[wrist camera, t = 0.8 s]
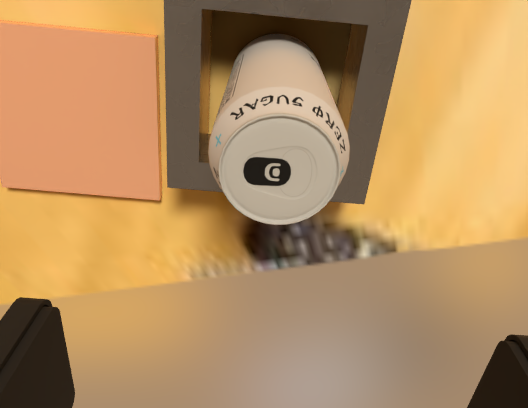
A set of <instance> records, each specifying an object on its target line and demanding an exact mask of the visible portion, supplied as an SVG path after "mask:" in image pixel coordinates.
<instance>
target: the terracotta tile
mask: <svg viewBox="0 0 528 408" xmlns="http://www.w3.org/2000/svg"><path fill="white" fill-rule="evenodd" d="M0 179H1V184H2V187H8V188H20V189H32V190H43V191H55V192H67V193H78V194H90V195H102V196H114V197H125V198H137V199H149V200H160V199H161V197H162V177H161V139H160V100H159V62H158V36H157V35H146V34H136V33H126V32H115V31H105V30H95V29H85V28H74V27H64V26H54V25H43V24H33V23H23V22H12V21H2V20H0Z"/></svg>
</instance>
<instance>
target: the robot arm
mask: <svg viewBox="0 0 528 408" xmlns="http://www.w3.org/2000/svg"><path fill="white" fill-rule="evenodd" d="M74 397H75V390H74V384H73V379H72V374H71V368H70V363H69V358H68V353H67V347H66V342H65V337H64V332H63V326H62V321H61V316H60V311H59V309H58V308H57V307H52V304H51V302H50V301H49V300H47V299H35V298H21V297H20V298H18V299H16V300H15V302H14V303H13V304H12V305H11V307H10V308H9V309H8V311H7V312H6V314H5V315H4V316H3V318H2V319H1V320H0V408H72V406H73V403H74ZM467 408H528V336H524V335H509V336H507V337H506V339H505V340H504V341H500V342H499V343H498V345H497V347H496V349H495V351H494V353H493V355H492V357H491V359H490V361H489V363H488V365H487V367H486V369H485V372H484V374H483V376H482V378H481V380H480V382H479V384H478V386H477V388H476V390H475V392H474V395H473V396H472V399H471V401H470V403H469V405H468V407H467Z"/></svg>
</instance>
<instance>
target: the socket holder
mask: <svg viewBox="0 0 528 408" xmlns="http://www.w3.org/2000/svg"><path fill="white" fill-rule="evenodd" d="M410 5H411V0H164V27H165V80H166V133H167V185H168V187H169V188H181V189H193V190H204V191H216V192H223V190H222V189H221V188H220V187H219V185H218V183H217V182H216V180H215V178H214V176H213V173H212V170H211V167H210V164H209V155H208V149H209V139H210V136H211V134H208V129H209V96H210V63H211V29H212V10H220V11H230V12H240V13H250V14H260V15H270V16H281V17H291V18H301V19H311V20H321V21H331V22H341V23H351V24H352V26H351V31H350V37H349V43H348V48H347V54H346V60H345V65H344V71H343V77H342V82H341V88H340V94H339V100H338V105H337V109H338V111H339V114H340V116H341V119H342V121H343V124H344V126H345V129H346V131H347V134H348V139H349V145H350V152H349V162H348V166H347V169H346V173H345V175H344V177H343V179H342V181H341V183H340V184H339V186H338V187H337V189H336V191H335V193H334V195H333V197H332V198H331V200H330V201H332V202H343V203H355V204H364V203H365V198H366V194H367V190H368V185H369V181H370V177H371V173H372V168H373V164H374V160H375V155H376V151H377V147H378V142H379V138H380V134H381V129H382V125H383V121H384V117H385V112H386V108H387V104H388V99H389V95H390V91H391V86H392V82H393V78H394V73H395V69H396V65H397V61H398V56H399V52H400V48H401V43H402V39H403V35H404V30H405V26H406V22H407V17H408V13H409V9H410Z"/></svg>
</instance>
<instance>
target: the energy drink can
mask: <svg viewBox="0 0 528 408" xmlns="http://www.w3.org/2000/svg"><path fill="white" fill-rule="evenodd" d="M349 152H350V145H349V139H348V134H347V131H346V129H345V126H344V124H343V121H342V119H341V116H340V114H339V111H338V109H337V106H336V104H335V102H334V99H333V97H332V94H331V92H330V89H329V87H328V84H327V82H326V80H325V77H324V75H323V72H322V70H321V67H320V65H319V63H318V60H317V58H316V56H315V55H314V53H313V52H312V50H311V49H310V48H309V47H308V46H307V45H306V44H305V43H303V42H302V41H300V40H299V39H297V38H295V37H292V36H290V35H285V34H268V35H264V36H261V37H259V38H257V39H254V40H252V41H251V42H250V43H249V44H247V45H246V46H245V47H244V48H243V49H242V50H241V52H240V53H239V54H238V56H237V58H236V60H235V62H234V65H233V68H232V71H231V74H230V77H229V80H228V83H227V86H226V90H225V93H224V96H223V99H222V102H221V105H220V108H219V111H218V114H217V117H216V120H215V123H214V127H213V130H212V133H211V136H210V139H209V149H208V155H209V164H210V167H211V170H212V173H213V176H214V178H215V180H216V182H217V183H218V185H219V187H220V188H221V189H222V190H223V192H224V194H225V196H226V197H227V199H228V201H229V202H230V203H231V204H232V205H233V206H234V207H235V208H236V209H237V210H238V211H239V212H241V213H242V214H243V215H245V216H247V217H249V218H251V219H253V220H255V221H258V222H262V223H265V224H272V225H287V224H292V223H297V222H300V221H302V220H305V219H308V218H309V217H311V216H313V215H314V214H316V213H318V212H319V211H320V210H321V209H322V208H323V207H325V206H326V205H327V203H328V202H329V201H330V200H331V198H332V197H333V195H334V193H335V191H336V189H337V187H338V186H339V184H340V183H341V181H342V179H343V177H344V175H345V173H346V169H347V166H348V162H349Z"/></svg>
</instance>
